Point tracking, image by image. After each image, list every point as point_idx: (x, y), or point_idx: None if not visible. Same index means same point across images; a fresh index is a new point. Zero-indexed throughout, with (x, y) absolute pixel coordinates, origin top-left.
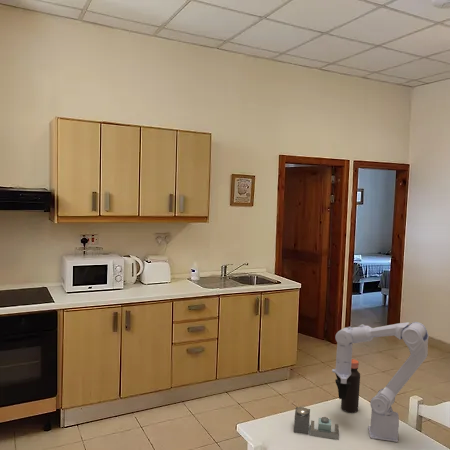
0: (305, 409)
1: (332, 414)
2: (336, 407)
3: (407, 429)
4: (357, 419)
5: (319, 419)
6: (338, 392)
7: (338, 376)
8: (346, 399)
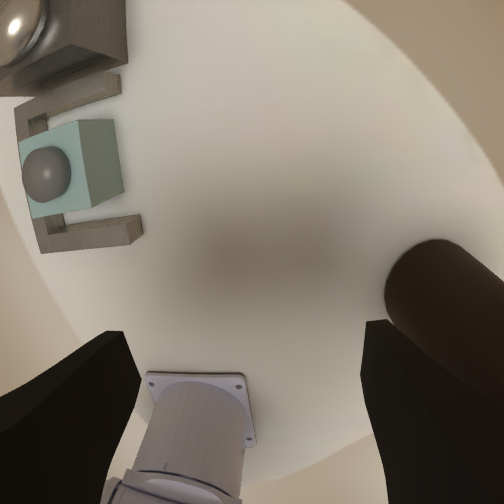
0: (11, 34)
1: (332, 186)
2: (435, 210)
3: (288, 465)
4: (315, 330)
5: (58, 132)
6: (49, 370)
7: (443, 490)
8: (421, 311)
